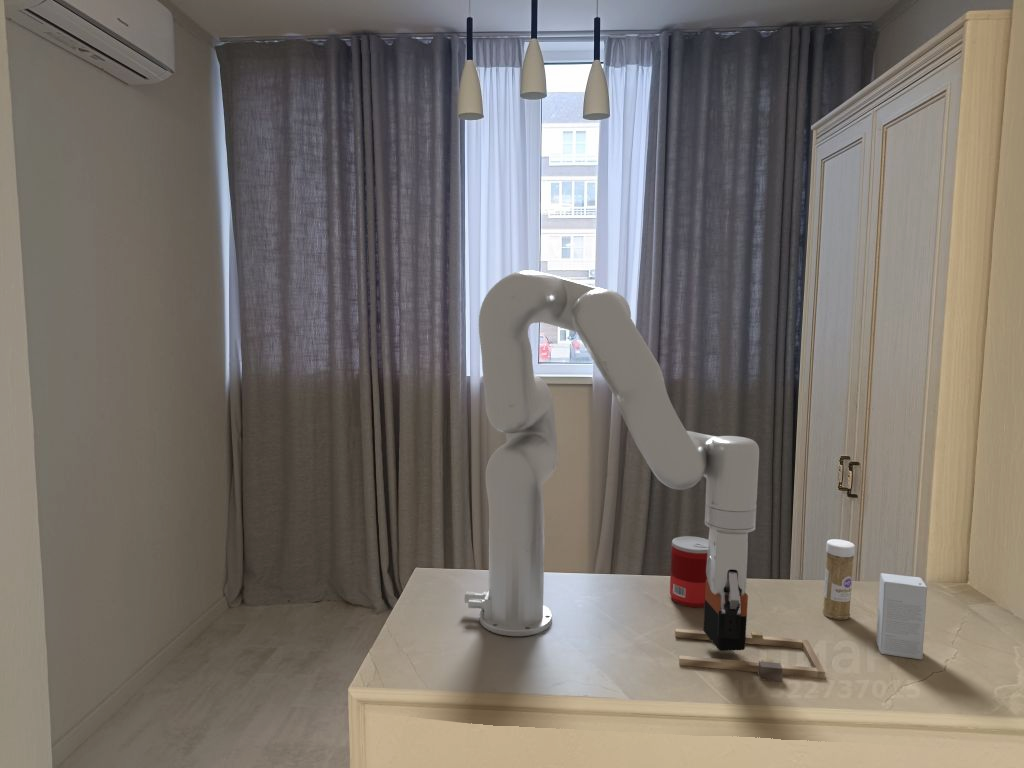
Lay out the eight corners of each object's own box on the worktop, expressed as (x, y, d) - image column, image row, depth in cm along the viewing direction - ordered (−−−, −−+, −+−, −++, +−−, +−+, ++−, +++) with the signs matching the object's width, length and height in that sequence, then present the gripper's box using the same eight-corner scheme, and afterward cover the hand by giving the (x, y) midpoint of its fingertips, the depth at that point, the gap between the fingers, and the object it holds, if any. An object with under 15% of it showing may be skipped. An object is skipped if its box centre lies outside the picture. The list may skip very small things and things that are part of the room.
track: (680, 671, 103) (680, 659, 103) (674, 634, 115) (675, 622, 115) (828, 686, 100) (829, 673, 99) (807, 645, 112) (808, 634, 111)
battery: (728, 630, 112) (731, 571, 111) (746, 651, 106) (749, 589, 104) (702, 631, 112) (705, 572, 111) (718, 652, 105) (722, 589, 104)
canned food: (715, 610, 125) (718, 551, 123) (670, 605, 126) (672, 547, 125) (711, 593, 132) (714, 537, 131) (669, 589, 134) (671, 534, 132)
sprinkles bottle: (841, 623, 120) (846, 548, 118) (816, 613, 123) (821, 541, 122) (855, 616, 122) (860, 543, 121) (830, 607, 126) (835, 536, 125)
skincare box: (916, 648, 111) (922, 577, 110) (922, 660, 107) (928, 587, 106) (874, 641, 113) (879, 571, 112) (879, 654, 109) (884, 581, 108)
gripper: (699, 499, 116) (695, 600, 118) (711, 532, 98) (706, 650, 100) (746, 502, 114) (740, 604, 116) (766, 536, 97) (760, 654, 99)
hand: (724, 624), depth 108 cm, fingers closed on battery, 7 cm apart
